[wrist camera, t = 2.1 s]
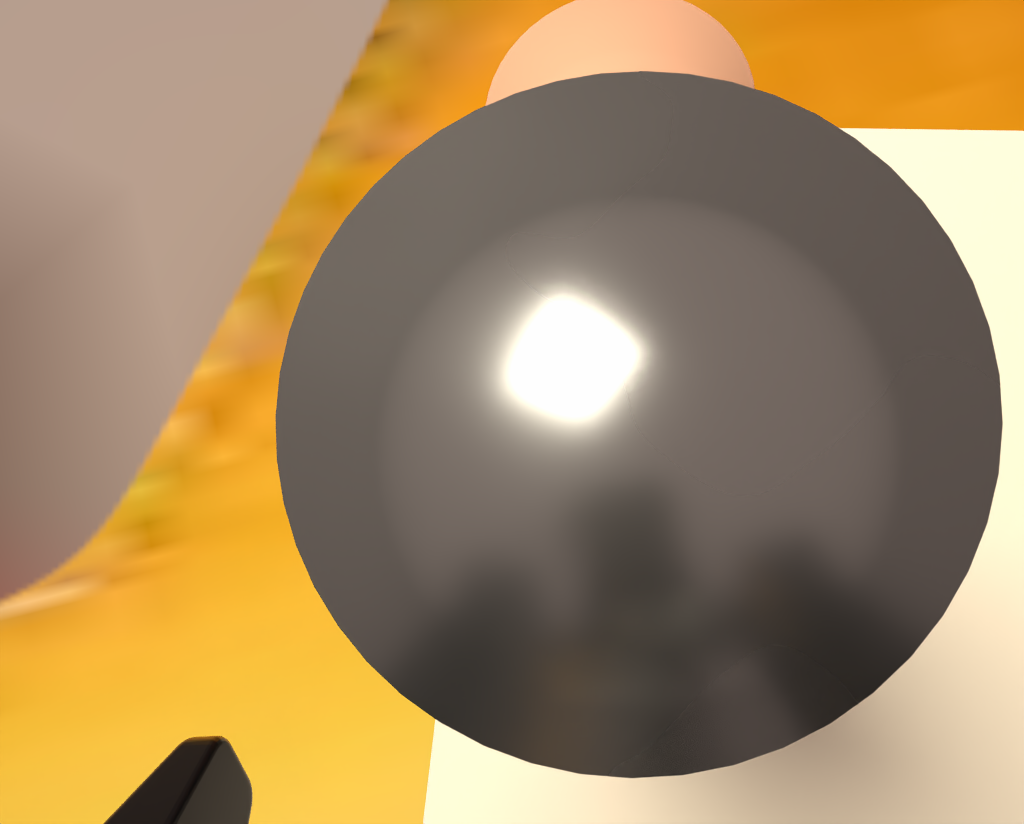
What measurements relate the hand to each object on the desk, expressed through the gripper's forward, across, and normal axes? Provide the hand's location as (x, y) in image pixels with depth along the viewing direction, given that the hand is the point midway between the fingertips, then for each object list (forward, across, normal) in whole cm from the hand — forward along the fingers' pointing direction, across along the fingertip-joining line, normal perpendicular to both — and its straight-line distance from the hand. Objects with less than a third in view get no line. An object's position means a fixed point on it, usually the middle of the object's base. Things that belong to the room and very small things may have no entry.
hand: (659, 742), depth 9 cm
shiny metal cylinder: (+8, 0, +4) cm, 9 cm away
